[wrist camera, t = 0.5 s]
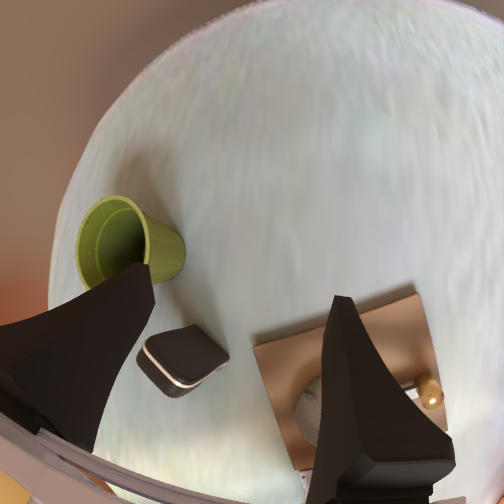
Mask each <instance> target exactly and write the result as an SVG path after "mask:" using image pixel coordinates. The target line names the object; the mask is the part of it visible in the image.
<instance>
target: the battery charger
mask: <svg viewBox="0 0 504 504" xmlns="http://www.w3.org/2000/svg"><path fill="white" fill-rule="evenodd" d="M228 360H229V356H228V355H227V354H226V353H225V352H224V351H223V350H222V349H221V348H220V347H219V346H218V345H217V344H215V343H214V342H213V341H212V340H211V339H210V338H209V337H208V336H207V335H206V334H205V333H204V332H203V331H202V330H201V329H200V328H198V327H197V326H196V325H191V326H188V327H185V328H180V329H175V330H171V331H166V332H163V333H159V334H156V335H153V336H151V337H149V338H148V339H147V340H145V342H144V343H143V347H142V348H141V350H140V351H139V353H138V354H137V357H136V362H137V364H138V366H139V367H140V368H141V370H142V371H143V372H144V373H145V374H146V375H147V377H148V378H149V379H150V380H151V381H152V382H153V383H154V384H155V385H156V386H157V387H158V388H159V389H160V390H161V391H162V392H163V393H164V394H165V395H167V396H168V397H171V398H178V397H181V396H183V395H185V394H187V393H189V392H191V391H192V390H194V389H195V388H197V387H198V386H199V385H200V384H201V382H202V381H204V380H205V379H206V378H207V377H209V376H210V375H211V374H212V373H214V372H215V371H217V370H219V369H221V368H222V367H223V366H224V365H225V364H227V362H228Z"/></svg>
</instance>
